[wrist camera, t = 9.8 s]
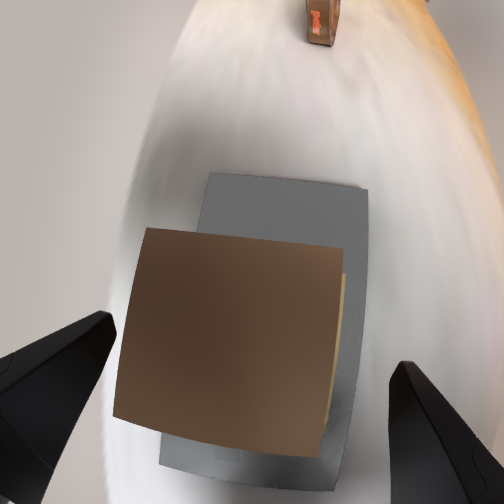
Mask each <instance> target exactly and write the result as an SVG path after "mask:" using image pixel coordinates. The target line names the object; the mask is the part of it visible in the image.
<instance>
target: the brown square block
mask: <svg viewBox="0 0 504 504" xmlns="http://www.w3.org/2000/svg"><path fill="white" fill-rule="evenodd" d="M343 251H344V249H343V248H335V247H326V246H318V245H309V244H300V243H291V242H282V241H273V240H264V239H255V238H245V237H236V236H227V235H217V234H207V233H197V232H188V231H177V230H167V229H157V228H146V231H145V235H144V239H143V243H142V247H141V251H140V255H139V259H138V264H137V268H136V272H135V277H134V281H133V286H132V291H131V295H130V300H129V306H128V311H127V316H126V321H125V327H124V333H123V339H122V345H121V352H120V358H119V365H118V373H117V381H116V389H115V398H114V408H113V417H116V418H119V419H122V420H125V421H128V422H130V423H133V424H137V425H140V426H143V427H146V428H149V429H153V430H156V431H159V432H163V433H166V434H170V435H174V436H178V437H182V438H186V439H190V440H194V441H198V442H203V443H208V444H212V445H217V446H223V447H228V448H234V449H240V450H246V451H253V452H260V453H268V454H277V455H287V456H299V457H316V458H317V457H318V453H319V448H320V443H321V438H322V432H323V427H324V421H325V416H326V410H327V404H328V398H329V391H330V385H331V378H332V371H333V363H334V355H335V347H336V338H337V329H338V319H339V309H340V297H341V284H342V269H343Z"/></svg>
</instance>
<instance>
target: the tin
mask: <svg viewBox="0 0 504 504" xmlns="http://www.w3.org/2000/svg"><path fill="white" fill-rule="evenodd" d="M306 11H307V14H308V34H307V36H308V39H309V41H310V42H313V43H320V44H327V45H330V46H333V44H334V40H335V36H336V30H337V25H338V20H339V13H340V0H306Z"/></svg>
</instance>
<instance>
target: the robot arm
mask: <svg viewBox="0 0 504 504" xmlns="http://www.w3.org/2000/svg"><path fill="white" fill-rule="evenodd" d="M116 335H117V332H116V328H115V324H114V320H113V316H112V315H111V313H109V312H105V311H97V312H95V313H93V314H91V315H89V316H87V317H85V318H83V319H81V320H79V321H77V322H74V323H72V324H70V325H68V326H66V327H64V328H62V329H60V330H58V331H56V332H54V333H52V334H50V335H48V336H45V337H43V338H41V339H39V340H37V341H35V342H33V343H31V344H29V345H27V346H25V347H23V348H21V349H19V350H17V351H15V353H14V352H13V353H11V354H9V355H7V356H5V357H2V358H0V504H9V503H10V502H13V503H15V504H41V502H42V499H43V497H44V494H45V492H46V489H47V487H48V484H49V482H50V480H51V477H52V475H53V473H54V470H55V468H56V465H57V463H58V461H59V459H60V457H61V454H62V452H63V450H64V448H65V446H66V444H67V441H68V439H69V437H70V435H71V433H72V431H73V429H74V427H75V425H76V422H77V421H78V419H79V416H80V414H81V412H82V410H83V409H84V407H85V405H86V402H87V401H88V399H89V397H90V395H91V393H92V391H93V389H94V387H95V385H96V383H97V381H98V379H99V377H100V375H101V373H102V371H103V369H104V366H105V364H106V361H107V359H108V356H109V354H110V351H111V349H112V347H113V344H114V342H115V339H116ZM388 431H389V448H390V472H391V504H504V468H503V467H502V466H501V465H500V464H499V462H498V461H497V460H496V459H495V458H494V457H493V456H492V455H491V453H490V452H489V451H488V450H487V449H486V447H485V446H484V445H483V444H482V442H481V441H480V440H479V439H478V438H477V437H476V435H475V434H474V433H473V431H472V430H471V429H470V428H469V426H468V425H467V424H466V423H465V422H464V420H463V419H462V418H461V417H460V415H459V414H458V413H457V412H456V411H455V409H454V408H453V407H452V406H451V405H450V403H449V402H448V401H447V400H446V399H445V398H444V396H443V395H442V394H441V393H440V392H439V390H438V389H437V388H436V387H435V386H434V385H433V383H432V382H431V381H430V380H429V379H428V378H427V377H426V375H425V374H424V373H423V372H422V371H421V370H420V368H419V367H418V366H417V365H416V364H415V363H414V362H413V361H401V362H399V364H398V365H397V367H396V369H395V371H394V373H393V375H392V376H391V378H390V382H389V418H388Z"/></svg>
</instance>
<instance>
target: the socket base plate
mask: <svg viewBox="0 0 504 504" xmlns="http://www.w3.org/2000/svg"><path fill="white" fill-rule="evenodd" d="M197 233H207V234H217V235H227V236H236V237H245V238H255V239H264V240H273V241H282V242H291V243H300V244H309V245H318V246H326V247H335V248H343V249H344V251H343V269H342V284H341V297H340V309H339V319H338V329H337V338H336V347H335V355H334V363H333V371H332V378H331V385H330V391H329V398H328V404H327V410H326V416H325V421H324V427H323V432H322V438H321V443H320V448H319V453H318V457H317V458H316V457H299V456H287V455H277V454H268V453H260V452H253V451H246V450H240V449H234V448H228V447H223V446H217V445H212V444H208V443H203V442H198V441H194V440H190V439H186V438H182V437H178V436H174V435H170V434H166V433H163V432H162V438H161V447H160V457H159V464H160V465H163V466H166V467H170V468H173V469H177V470H180V471H184V472H188V473H192V474H196V475H200V476H205V477H209V478H214V479H219V480H224V481H229V482H235V483H241V484H247V485H254V486H262V487H270V488H279V489H291V490H306V491H334V489H335V485H336V481H337V478H338V474H339V470H340V466H341V461H342V457H343V453H344V448H345V444H346V439H347V434H348V429H349V424H350V419H351V413H352V408H353V402H354V396H355V390H356V383H357V376H358V369H359V362H360V353H361V345H362V336H363V325H364V314H365V301H366V286H367V265H368V190H366V189H359V188H353V187H346V186H338V185H331V184H323V183H315V182H307V181H299V180H289V179H280V178H270V177H259V176H247V175H234V174H220V173H210V177H209V181H208V185H207V189H206V193H205V197H204V202H203V206H202V210H201V214H200V219H199V223H198V228H197Z"/></svg>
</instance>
